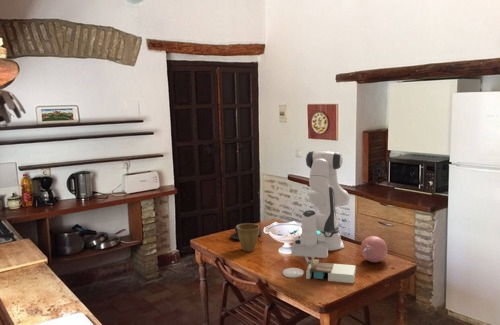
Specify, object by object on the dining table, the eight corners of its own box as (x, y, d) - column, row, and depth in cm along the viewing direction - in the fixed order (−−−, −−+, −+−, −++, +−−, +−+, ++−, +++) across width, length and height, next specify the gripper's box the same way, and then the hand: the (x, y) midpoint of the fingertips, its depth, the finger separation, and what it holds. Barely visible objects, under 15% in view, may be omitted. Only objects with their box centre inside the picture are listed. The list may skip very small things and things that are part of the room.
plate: (285, 268, 262) (285, 267, 262) (305, 270, 258) (305, 268, 258) (280, 276, 251) (280, 275, 251) (301, 278, 247) (301, 276, 247)
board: (310, 269, 260) (310, 261, 259) (355, 273, 252) (355, 265, 252) (306, 278, 247) (306, 270, 246) (353, 283, 239) (353, 275, 238)
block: (315, 274, 252) (315, 268, 252) (324, 275, 251) (324, 268, 250) (313, 278, 248) (313, 271, 247) (322, 279, 246) (322, 272, 245)
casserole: (252, 230, 339) (252, 219, 338) (267, 236, 325) (267, 224, 323) (225, 237, 325) (224, 226, 323) (239, 243, 310) (239, 232, 309)
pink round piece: (351, 263, 266) (351, 238, 264) (370, 255, 280) (370, 231, 277) (373, 270, 255) (373, 244, 253) (392, 261, 268) (392, 236, 266)
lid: (314, 263, 256) (314, 258, 255) (333, 265, 252) (333, 259, 252) (310, 270, 245) (310, 265, 245) (331, 272, 242) (330, 266, 242)
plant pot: (247, 255, 287) (246, 231, 284) (233, 249, 298) (232, 226, 296) (264, 249, 296) (264, 226, 293) (250, 244, 307) (249, 221, 305)
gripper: (329, 239, 248) (329, 263, 251) (293, 237, 255) (293, 260, 257) (327, 243, 243) (327, 267, 245) (290, 240, 249) (291, 264, 251)
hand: (309, 263), depth 251 cm, fingers closed
